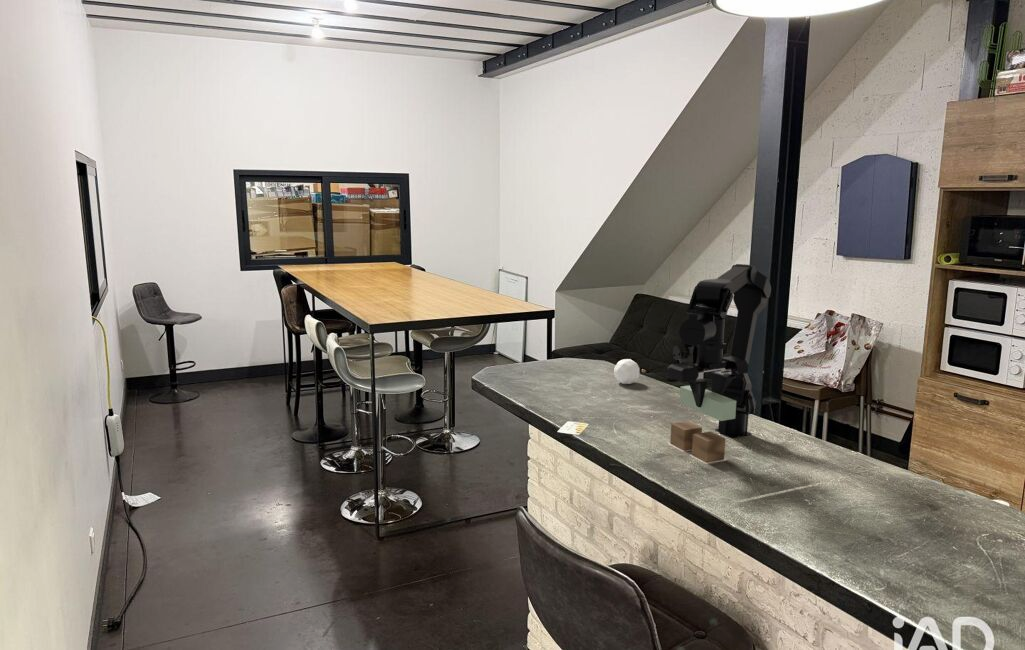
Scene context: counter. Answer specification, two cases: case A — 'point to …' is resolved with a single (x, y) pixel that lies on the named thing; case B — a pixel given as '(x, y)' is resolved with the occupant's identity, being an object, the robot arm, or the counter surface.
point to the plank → (710, 404)
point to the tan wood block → (708, 446)
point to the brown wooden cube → (683, 434)
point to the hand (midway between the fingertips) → (706, 405)
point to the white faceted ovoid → (626, 371)
